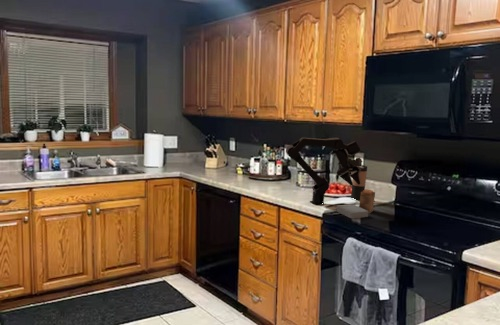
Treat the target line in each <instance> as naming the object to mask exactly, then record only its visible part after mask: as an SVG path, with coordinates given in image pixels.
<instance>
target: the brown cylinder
mask: <svg viewBox="0 0 500 325" xmlns="http://www.w3.org/2000/svg"><path fill="white" fill-rule="evenodd" d="M375 197H376V192H375V191H373V193H372V194H368V193H363V191H362V192H361V195H360V200H359V204H358V205H359V206H358V207H360V208H362V209H365V210H367V211H369V212H368V214H371V213H372V212H373V211H374V207H375V206H374V205H375V199H376V198H375Z"/></svg>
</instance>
